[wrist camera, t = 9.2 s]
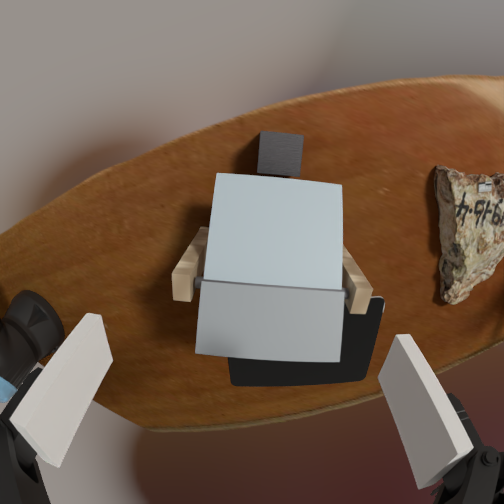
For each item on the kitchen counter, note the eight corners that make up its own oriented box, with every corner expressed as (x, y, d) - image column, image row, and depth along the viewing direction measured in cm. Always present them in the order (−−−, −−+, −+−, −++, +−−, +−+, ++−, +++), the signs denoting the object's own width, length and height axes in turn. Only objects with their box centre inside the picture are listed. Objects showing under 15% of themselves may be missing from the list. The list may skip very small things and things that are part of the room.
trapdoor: (335, 356, 30) (347, 361, 26) (194, 347, 30) (187, 352, 26) (340, 196, 34) (351, 182, 30) (212, 184, 34) (208, 168, 30)
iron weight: (257, 168, 38) (260, 131, 36) (294, 172, 38) (298, 135, 36) (257, 172, 33) (260, 130, 32) (299, 176, 33) (303, 135, 32)
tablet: (386, 296, 44) (365, 380, 52) (385, 294, 45) (364, 377, 52) (222, 301, 46) (231, 386, 53) (222, 299, 46) (231, 383, 54)
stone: (525, 166, 30) (511, 297, 38) (505, 161, 35) (496, 284, 44) (449, 168, 32) (439, 321, 40) (429, 164, 37) (426, 304, 46)
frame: (200, 246, 42) (172, 299, 28) (200, 226, 41) (170, 273, 27) (335, 257, 42) (366, 313, 28) (339, 238, 41) (373, 288, 27)
